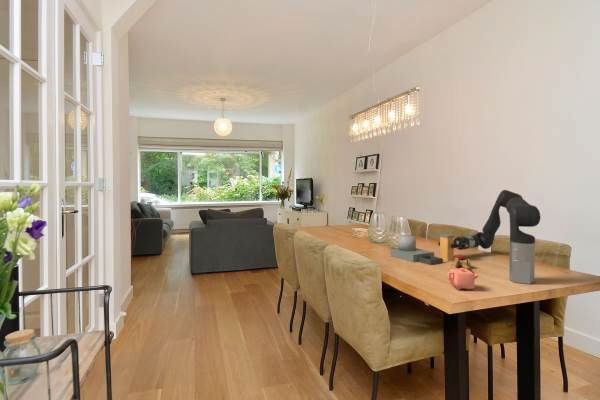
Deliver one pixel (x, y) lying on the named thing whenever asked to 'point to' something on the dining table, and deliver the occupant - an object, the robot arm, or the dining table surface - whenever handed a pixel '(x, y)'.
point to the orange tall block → (446, 247)
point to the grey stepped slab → (413, 251)
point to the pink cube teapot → (462, 278)
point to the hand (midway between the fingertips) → (445, 245)
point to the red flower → (462, 262)
